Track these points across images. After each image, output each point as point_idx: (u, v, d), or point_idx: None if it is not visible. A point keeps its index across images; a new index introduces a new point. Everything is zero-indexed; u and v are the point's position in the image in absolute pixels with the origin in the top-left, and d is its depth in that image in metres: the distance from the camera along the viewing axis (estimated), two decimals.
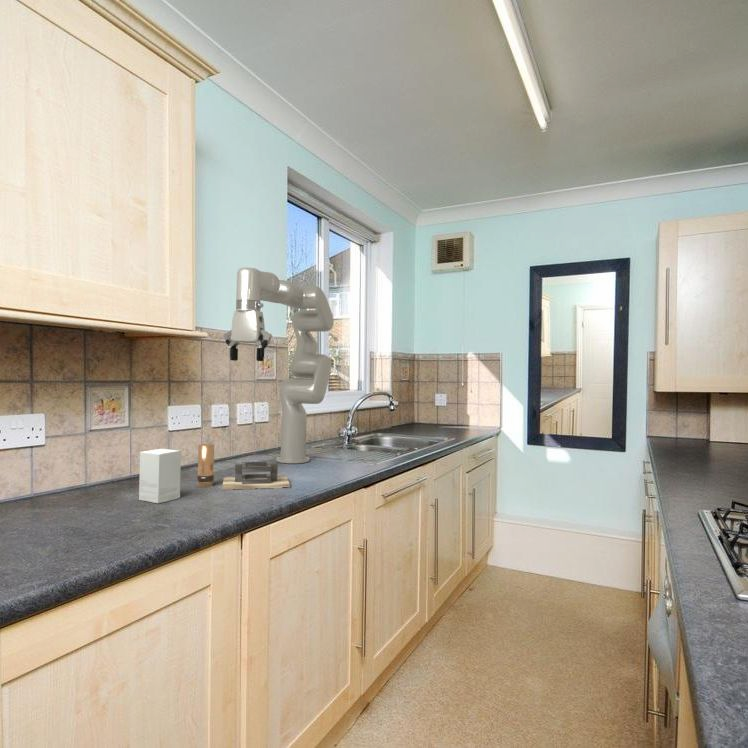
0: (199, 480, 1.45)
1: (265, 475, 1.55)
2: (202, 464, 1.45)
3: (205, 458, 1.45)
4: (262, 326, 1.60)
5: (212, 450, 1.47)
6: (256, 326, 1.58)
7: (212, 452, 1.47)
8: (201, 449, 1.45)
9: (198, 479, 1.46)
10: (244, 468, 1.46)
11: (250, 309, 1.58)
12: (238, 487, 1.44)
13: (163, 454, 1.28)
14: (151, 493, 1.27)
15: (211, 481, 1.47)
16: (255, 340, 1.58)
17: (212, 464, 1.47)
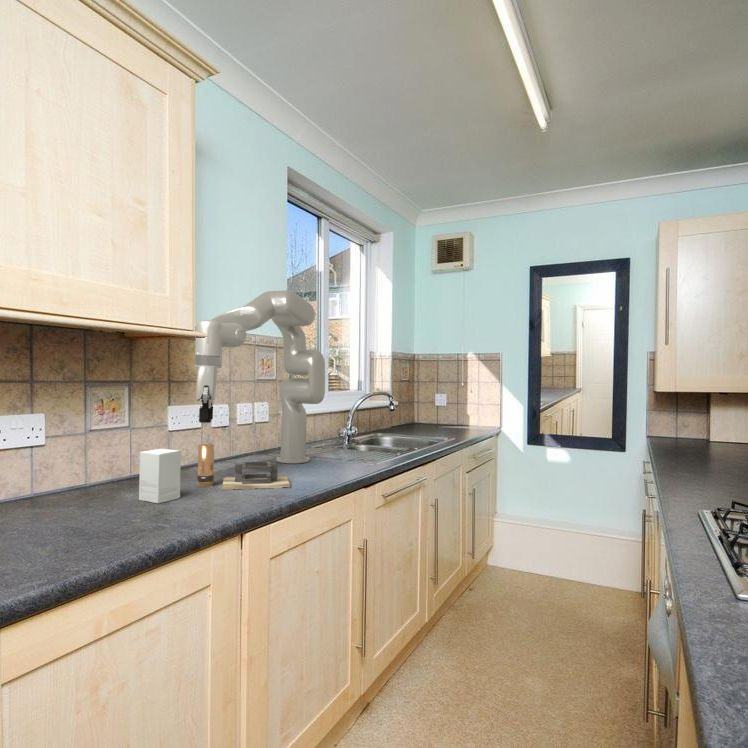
0: (199, 480, 1.45)
1: (265, 475, 1.55)
2: (202, 464, 1.45)
3: (205, 458, 1.45)
4: None
5: (212, 450, 1.47)
6: None
7: (212, 452, 1.47)
8: (201, 449, 1.45)
9: (198, 479, 1.46)
10: (244, 468, 1.46)
11: None
12: (238, 487, 1.44)
13: (163, 454, 1.28)
14: (151, 493, 1.27)
15: (211, 481, 1.47)
16: None
17: (212, 464, 1.47)
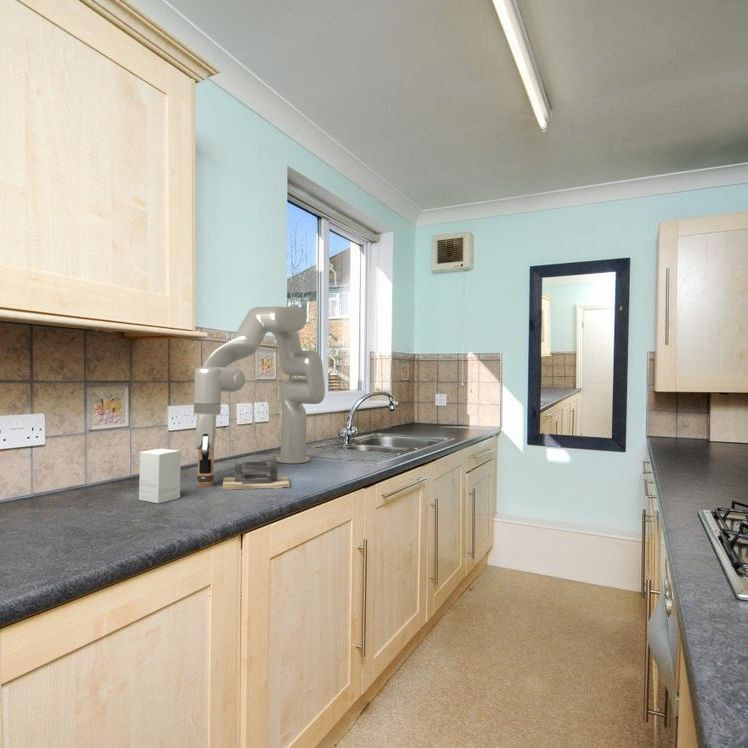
0: (199, 480, 1.45)
1: (265, 475, 1.55)
2: None
3: None
4: None
5: (212, 450, 1.47)
6: None
7: (212, 452, 1.47)
8: None
9: (198, 479, 1.46)
10: (244, 468, 1.46)
11: None
12: (238, 487, 1.44)
13: (163, 454, 1.28)
14: (151, 493, 1.27)
15: (211, 481, 1.47)
16: None
17: (212, 464, 1.47)
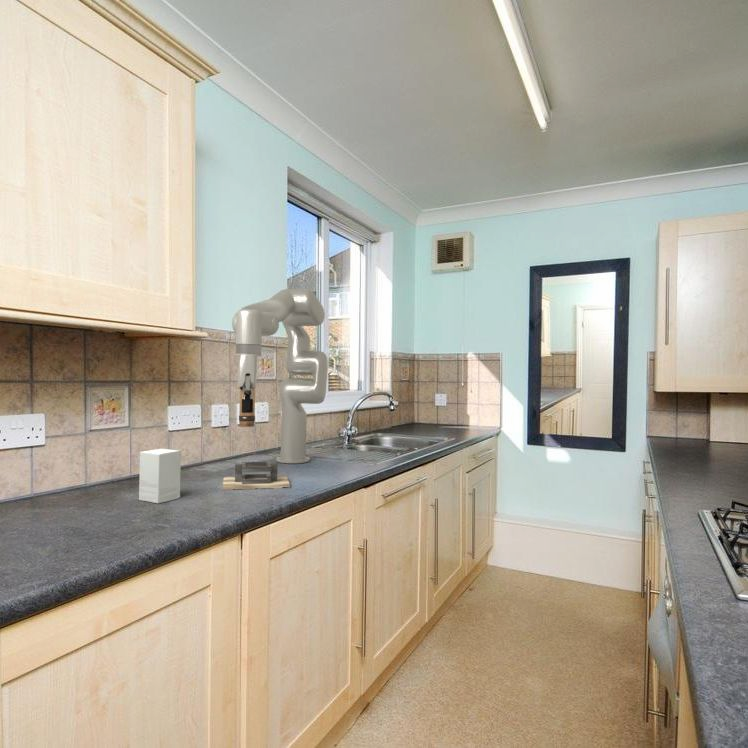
0: (241, 419, 1.49)
1: (265, 475, 1.55)
2: None
3: None
4: None
5: (253, 391, 1.50)
6: None
7: (253, 393, 1.50)
8: None
9: (240, 419, 1.49)
10: (244, 468, 1.46)
11: None
12: (238, 487, 1.44)
13: (163, 454, 1.28)
14: (151, 493, 1.27)
15: (252, 421, 1.50)
16: None
17: (253, 404, 1.50)
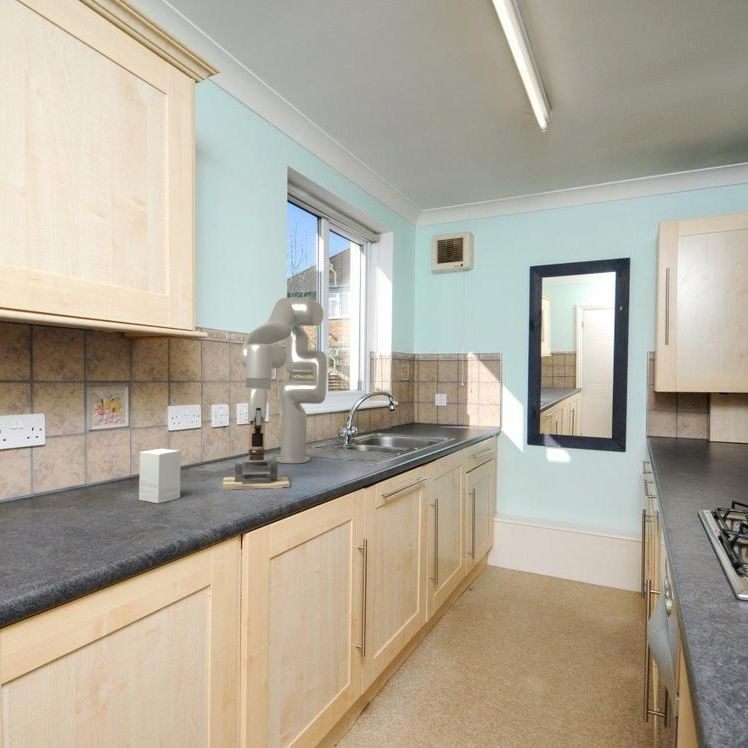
0: (251, 453, 1.49)
1: (265, 475, 1.55)
2: None
3: None
4: None
5: (263, 424, 1.50)
6: None
7: (263, 426, 1.51)
8: None
9: (250, 452, 1.49)
10: (244, 468, 1.46)
11: None
12: (238, 487, 1.44)
13: (163, 454, 1.28)
14: (151, 493, 1.27)
15: (262, 454, 1.50)
16: None
17: (263, 438, 1.51)
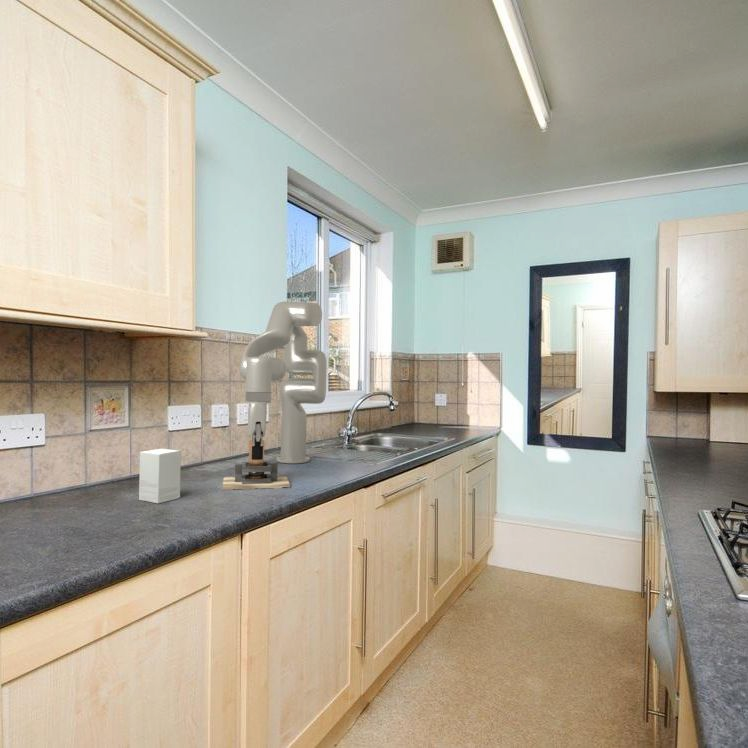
0: (251, 475, 1.49)
1: (265, 475, 1.55)
2: None
3: None
4: None
5: (262, 445, 1.51)
6: None
7: (263, 447, 1.51)
8: (252, 444, 1.50)
9: (250, 474, 1.50)
10: (244, 468, 1.46)
11: None
12: (238, 487, 1.44)
13: (163, 454, 1.28)
14: (151, 493, 1.27)
15: (262, 476, 1.50)
16: None
17: (263, 459, 1.51)
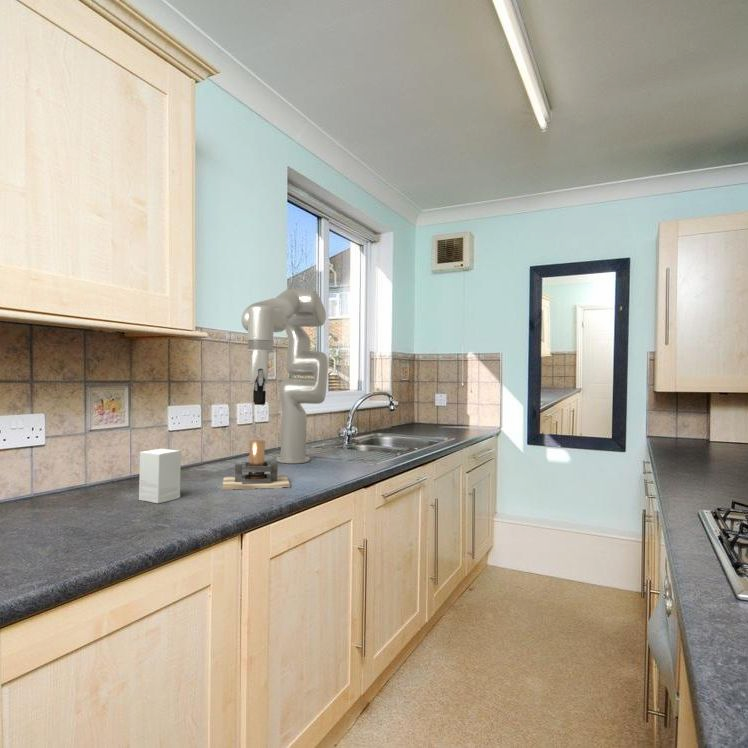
0: (251, 475, 1.49)
1: (265, 475, 1.55)
2: (254, 459, 1.49)
3: (257, 454, 1.49)
4: None
5: (263, 446, 1.51)
6: None
7: (263, 448, 1.51)
8: (252, 445, 1.49)
9: (250, 474, 1.50)
10: (244, 468, 1.46)
11: None
12: (238, 487, 1.44)
13: (163, 454, 1.28)
14: (151, 493, 1.27)
15: (262, 476, 1.50)
16: None
17: (263, 460, 1.51)
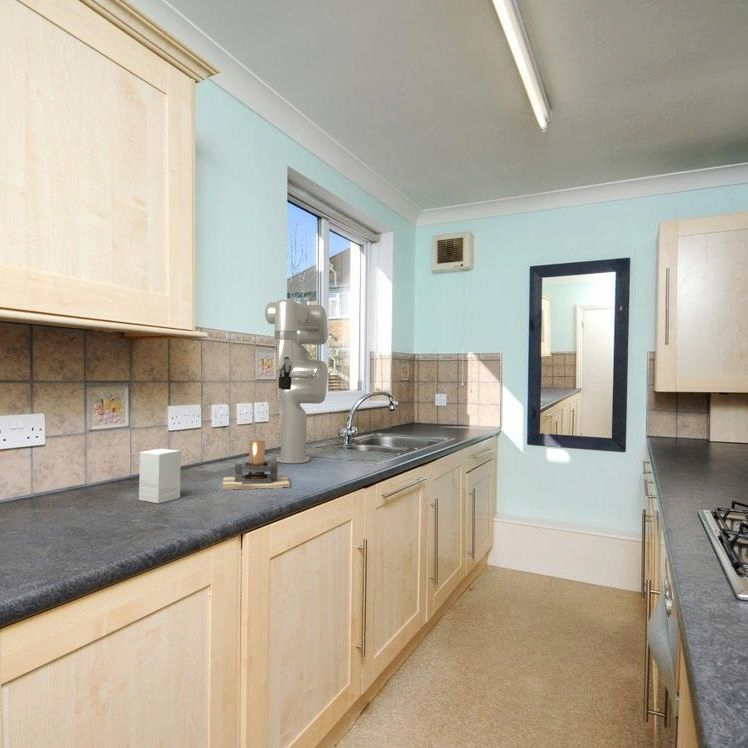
0: (251, 475, 1.49)
1: (265, 475, 1.55)
2: (254, 459, 1.49)
3: (257, 454, 1.49)
4: None
5: (263, 446, 1.51)
6: None
7: (263, 448, 1.51)
8: (253, 445, 1.49)
9: (250, 474, 1.50)
10: (244, 468, 1.46)
11: None
12: (238, 487, 1.44)
13: (163, 454, 1.28)
14: (151, 493, 1.27)
15: (262, 476, 1.50)
16: None
17: (263, 460, 1.51)
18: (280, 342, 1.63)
